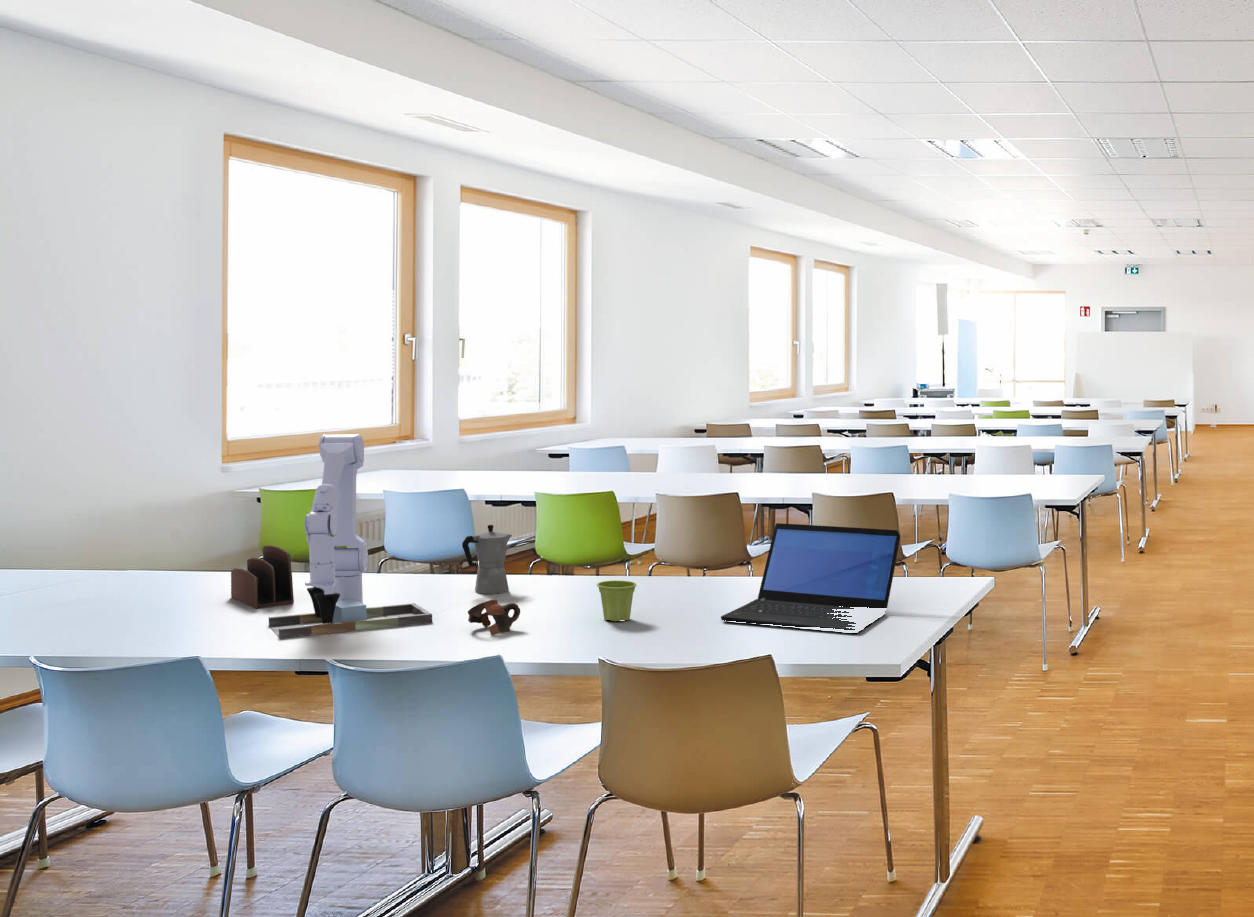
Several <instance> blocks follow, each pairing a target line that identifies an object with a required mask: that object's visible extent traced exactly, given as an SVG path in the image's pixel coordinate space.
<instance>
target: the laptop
mask: <svg viewBox="0 0 1254 917" xmlns="http://www.w3.org/2000/svg"><path fill="white" fill-rule="evenodd" d="M900 540H901V534H900V532H899V531H898V530H895V529H882V528H881V529H880V528H869V527H868V528H866V527H865V528H864V527H853V526H852V527H850V526H849V527H848V526H833V525H832V526H831V525H818V524H817V525H816V524H801V523H800V524H799V523H798V524H797V523H780V522H776V523H775V526H774V530H773V534H772V539H771V541H770V546H769V550H768V554H767V558H766V562H765V566H764V571H763V575H762V579H761V582H760V586H759V592H758V595H757V596H758V597H757V598H756V599H754V600H753V601H750V602H748V603H746V604H744V605H743V606H740V607H738V608H735V609H733V610H731V611H730V612H727V613H725V614H723V615H721V616H720V620H721V621H723V620H724V621H725V620H726V621H736V622H746V623H756V624H773V625H782V626H795V627H820V628H833V629H834V628H835V629H844V630H855V629H852V628H850V629H849V628H846V627H855V626H852V625H848V624H856V623H854V622H849V621H841V620H847V619H841V618H836V617H837V616H838V617H846V616H847V615H844V616H842V615H841V614H838V615H835V616H834V614H830V613H837V612H838V613H841V611H835V612H834V610H832V609H836V610H837V609H854V608H850V607H867V608H868V607H869V608H887V609H888V605H889V599H890V594H891V590H892V584H893V579H894V574H895V570H896V564H897V558H898V552H899V548H900V547H899V546H900ZM839 606H841V607H839ZM842 606H843V607H842ZM827 613H829V614H827ZM842 613H849V612H846V611H844V612H842ZM833 617H835V618H833ZM847 617H852V616H847ZM832 618H833V619H832ZM839 619H841V620H839ZM724 621H723V622H724Z"/></svg>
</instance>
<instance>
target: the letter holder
mask: <svg viewBox="0 0 1254 917" xmlns="http://www.w3.org/2000/svg"><path fill="white" fill-rule="evenodd" d="M291 558H292V557H291V554H290V553H289V552H287V551H286V550H285V549H283V548H281V547H278V546H276V545H275V546H274V545H272V544H271V545H269V544H268V545H263V546H262V558H259V557H249V558H247V560H246V567H247V568H246V570H245V569H244V568H237V567H236V568H235V567H234V568H232V569H231V572H230V597H231V598H232V599H234V600H237V601H238V602H240V603H243V604H245V605H248V606H250V607H252V608H255V609H256V610H257V609H263V608H265V609H266V608H271V607H272V608H274V607H281V606H289V605H293V604H294V603H295V599H294V598H295V597H294V586H293V584H294V583H293V572H292V571H293V570H292V562H291Z"/></svg>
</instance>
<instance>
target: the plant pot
mask: <svg viewBox="0 0 1254 917" xmlns="http://www.w3.org/2000/svg"><path fill="white" fill-rule="evenodd" d="M637 585H638V583H636V582H634V581H629V580H604V581H600V582H598V583H597V584H596V586H597V587H598V590H599V593H600V598H601V599H600V600H601V607H602V613H603V620H604V621H606V620H610V621H612V622H613V621H620V620H627V621H629V620H628V619H631V615H632V614H631V613H632V604H633V597H634V592H635V589H636V587H637Z"/></svg>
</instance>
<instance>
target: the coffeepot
mask: <svg viewBox="0 0 1254 917" xmlns="http://www.w3.org/2000/svg"><path fill="white" fill-rule="evenodd" d="M487 530H488V531H485V532H482V533H478V534H476V535H466V537H465V538H464V540H463V541H462V544H461V545H462V549H463V552H464V555H465V558H466V560H467V564H468V566H469V567H476V566H477V562H473V557H472V554H471V549H470V546H469V544H470V543H472V544H474V546H475V547H474V548H475V552H476V557H477V561H478V568H477V573H476V580H475V587H474V588H475V589H474V590H475V592H476V593H477V594H482V595H496V594H503V593H507V592H508V591H510V588H509V584H508V578H507V572H506V568H505V560H506V554H507V548H508V542H509V541H510V538H512V534H509V533H503V532H497V531H494V525H493V524H489V525H487Z"/></svg>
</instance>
